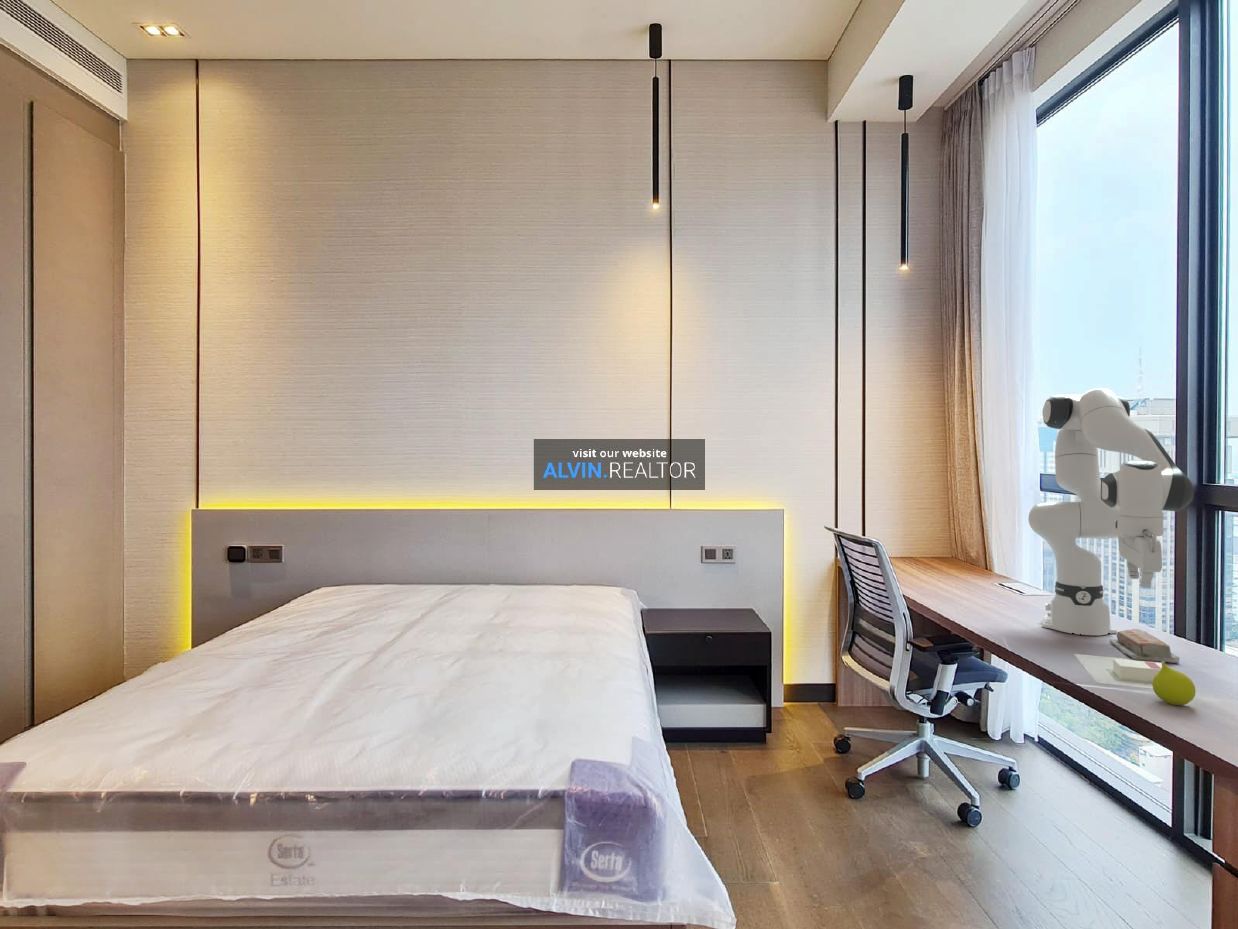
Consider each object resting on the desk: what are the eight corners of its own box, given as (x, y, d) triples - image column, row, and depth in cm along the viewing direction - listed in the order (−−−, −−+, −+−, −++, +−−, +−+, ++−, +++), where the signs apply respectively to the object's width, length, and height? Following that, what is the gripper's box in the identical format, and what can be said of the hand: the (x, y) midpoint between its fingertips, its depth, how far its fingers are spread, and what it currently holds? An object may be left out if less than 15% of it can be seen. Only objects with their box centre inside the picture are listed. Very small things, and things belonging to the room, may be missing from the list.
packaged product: (1180, 645, 166) (1132, 641, 170) (1180, 664, 166) (1133, 660, 170) (1151, 628, 183) (1108, 626, 187) (1151, 646, 183) (1108, 643, 186)
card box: (1113, 658, 162) (1163, 662, 158) (1113, 671, 162) (1164, 675, 158) (1120, 665, 156) (1173, 670, 152) (1120, 678, 156) (1173, 683, 152)
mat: (1073, 655, 176) (1073, 653, 176) (1157, 663, 169) (1157, 661, 169) (1096, 684, 154) (1096, 682, 154) (1194, 695, 147) (1194, 692, 147)
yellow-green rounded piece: (1145, 697, 146) (1145, 652, 146) (1181, 698, 145) (1181, 653, 145) (1165, 709, 139) (1165, 662, 139) (1203, 711, 138) (1203, 663, 138)
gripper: (1171, 534, 151) (1170, 593, 152) (1143, 521, 170) (1142, 574, 170) (1137, 533, 154) (1136, 591, 154) (1113, 520, 172) (1112, 573, 173)
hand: (1139, 582), depth 162 cm, fingers open, 8 cm apart
